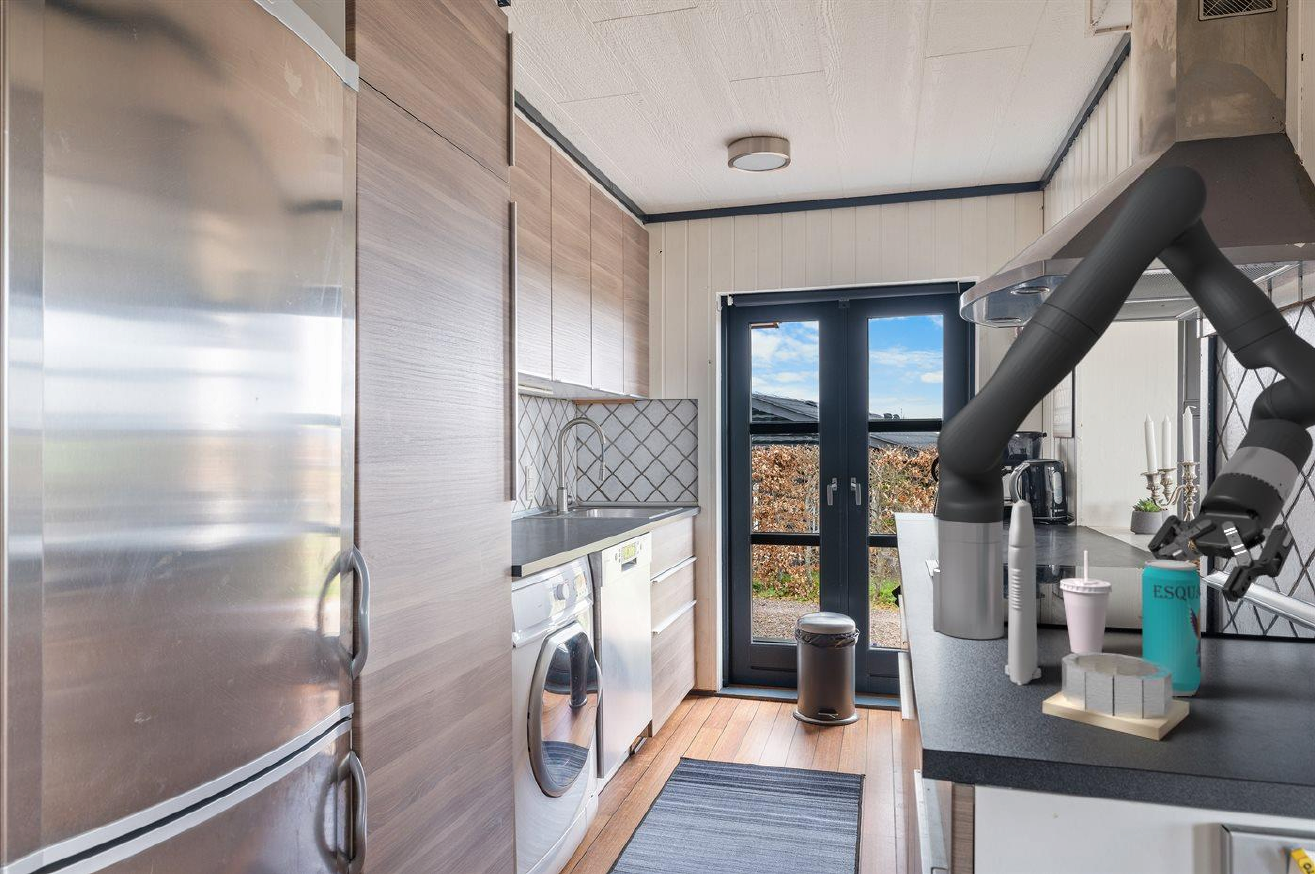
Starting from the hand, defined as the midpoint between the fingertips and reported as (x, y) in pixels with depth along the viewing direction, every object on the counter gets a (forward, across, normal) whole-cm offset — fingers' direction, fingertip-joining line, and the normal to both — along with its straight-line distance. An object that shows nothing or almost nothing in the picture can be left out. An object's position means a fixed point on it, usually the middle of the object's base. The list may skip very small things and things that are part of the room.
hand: (1190, 590), depth 95 cm
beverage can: (+11, 0, +6) cm, 12 cm away
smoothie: (+6, -16, +10) cm, 20 cm away
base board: (+20, +2, -4) cm, 20 cm away
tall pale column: (+18, -12, -2) cm, 22 cm away
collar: (+19, +3, -4) cm, 20 cm away
